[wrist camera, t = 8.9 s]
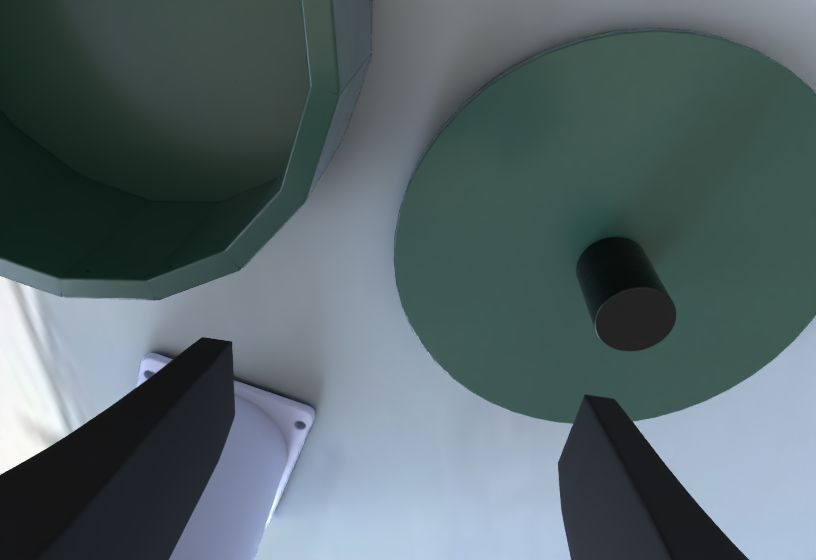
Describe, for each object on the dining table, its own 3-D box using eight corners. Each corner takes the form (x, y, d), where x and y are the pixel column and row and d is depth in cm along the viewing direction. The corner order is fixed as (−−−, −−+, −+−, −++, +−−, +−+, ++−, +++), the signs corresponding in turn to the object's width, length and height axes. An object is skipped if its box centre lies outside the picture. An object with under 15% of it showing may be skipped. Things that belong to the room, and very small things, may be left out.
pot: (301, 266, 22) (253, 364, 17) (-79, 125, 21) (-257, 188, 15) (447, -166, 15) (440, -217, 10) (-122, -444, 13) (-488, -682, 8)
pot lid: (662, 448, 26) (697, 536, 22) (343, 333, 24) (321, 407, 20) (950, 143, 18) (1078, 197, 14) (510, -65, 16) (525, -64, 12)
